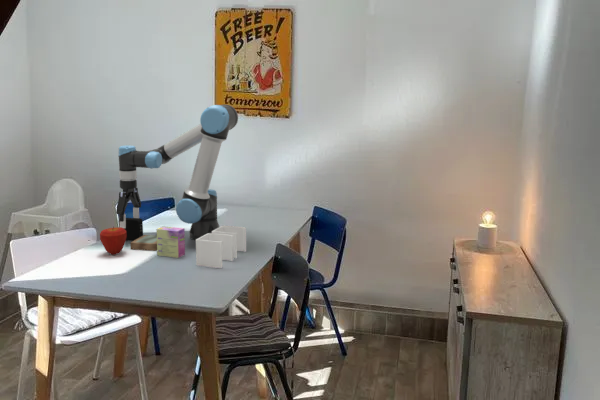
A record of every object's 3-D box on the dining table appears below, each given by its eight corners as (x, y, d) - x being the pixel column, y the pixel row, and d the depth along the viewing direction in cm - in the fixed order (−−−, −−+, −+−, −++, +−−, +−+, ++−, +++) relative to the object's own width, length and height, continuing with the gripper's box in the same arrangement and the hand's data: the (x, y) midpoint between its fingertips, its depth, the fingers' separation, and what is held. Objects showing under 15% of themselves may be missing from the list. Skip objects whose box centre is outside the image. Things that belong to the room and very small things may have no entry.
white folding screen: (223, 249, 257) (222, 225, 255) (246, 251, 254) (245, 227, 252) (196, 266, 234) (195, 239, 232) (221, 268, 230) (220, 242, 228)
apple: (120, 248, 257) (118, 222, 255) (132, 253, 249) (131, 226, 247) (96, 253, 249) (94, 226, 247) (108, 259, 242) (106, 230, 239)
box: (185, 254, 249) (184, 227, 246) (178, 258, 243) (177, 231, 241) (164, 252, 252) (163, 225, 250) (157, 255, 247) (155, 228, 244)
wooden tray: (168, 242, 267) (168, 235, 267) (156, 250, 254) (155, 243, 253) (144, 241, 269) (144, 234, 269) (130, 249, 256) (130, 242, 255)
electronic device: (139, 241, 269) (138, 220, 267) (119, 240, 271) (118, 219, 269) (143, 239, 273) (142, 218, 271) (123, 238, 275) (122, 217, 273)
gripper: (133, 174, 279) (134, 217, 283) (106, 183, 255) (108, 230, 259) (147, 175, 277) (148, 218, 282) (122, 184, 253) (124, 231, 258)
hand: (129, 224), depth 270 cm, fingers open, 13 cm apart
